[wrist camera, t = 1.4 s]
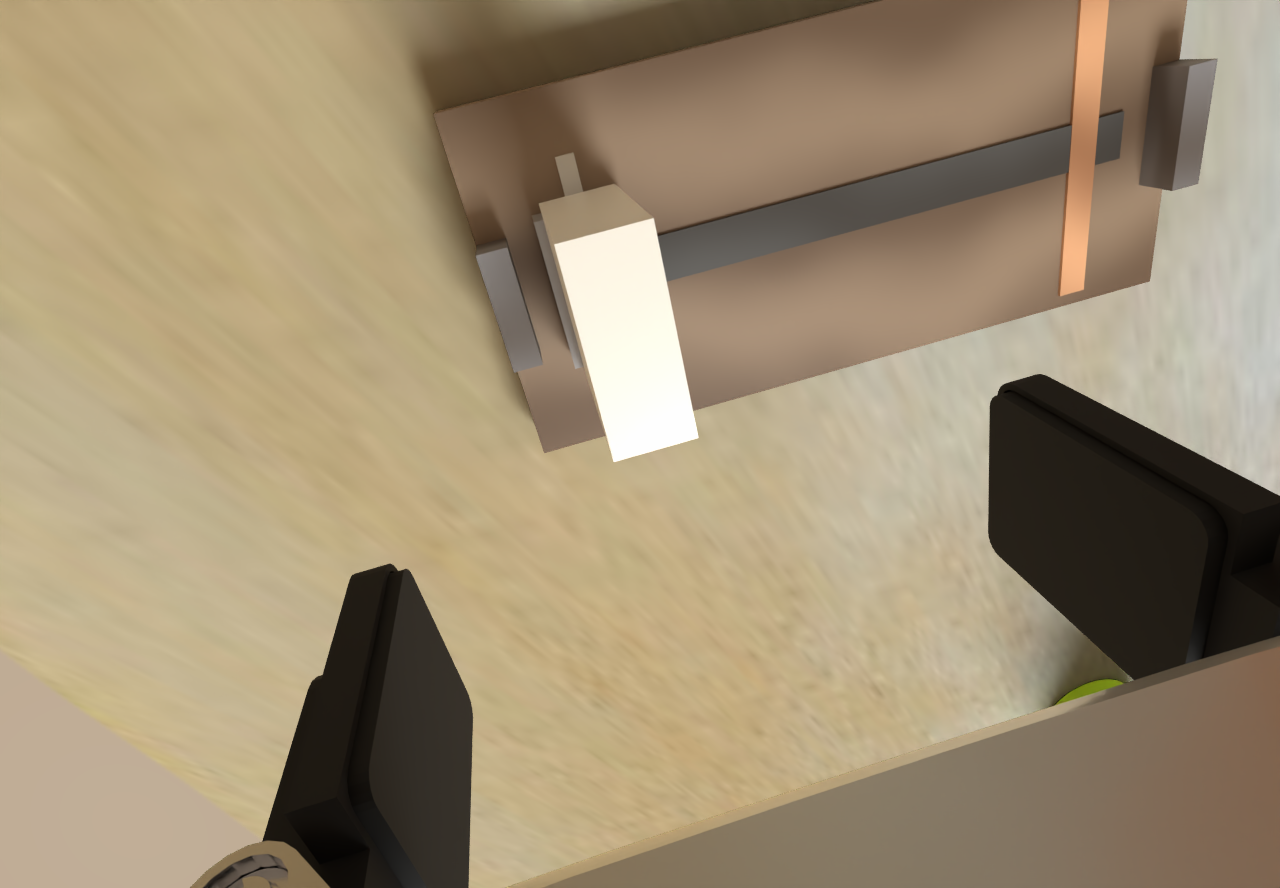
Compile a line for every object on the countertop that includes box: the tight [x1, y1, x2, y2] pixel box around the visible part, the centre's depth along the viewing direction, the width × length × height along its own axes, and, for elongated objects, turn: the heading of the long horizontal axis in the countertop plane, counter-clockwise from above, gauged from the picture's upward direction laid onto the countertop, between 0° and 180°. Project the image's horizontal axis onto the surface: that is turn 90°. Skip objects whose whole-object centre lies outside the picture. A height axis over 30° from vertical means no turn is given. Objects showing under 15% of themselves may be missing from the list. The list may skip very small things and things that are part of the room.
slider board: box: [433, 0, 1217, 453], centre depth 25 cm, size 12×25×4 cm, turn 103°
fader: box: [532, 184, 698, 462], centre depth 21 cm, size 6×3×7 cm, turn 12°
